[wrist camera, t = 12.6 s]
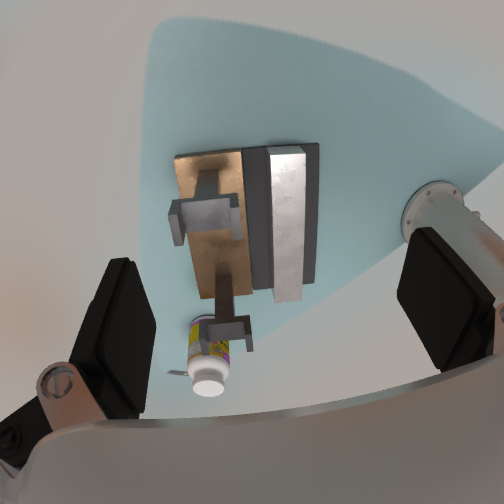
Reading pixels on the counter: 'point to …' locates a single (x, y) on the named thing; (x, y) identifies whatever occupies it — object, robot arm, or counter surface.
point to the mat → (259, 212)
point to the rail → (286, 220)
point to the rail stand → (215, 238)
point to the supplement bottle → (207, 363)
